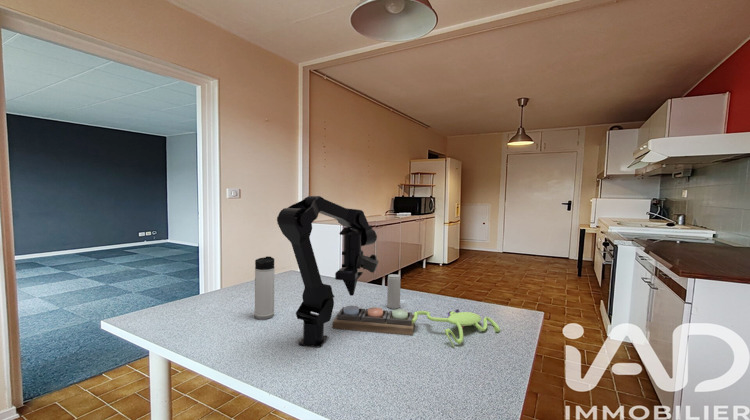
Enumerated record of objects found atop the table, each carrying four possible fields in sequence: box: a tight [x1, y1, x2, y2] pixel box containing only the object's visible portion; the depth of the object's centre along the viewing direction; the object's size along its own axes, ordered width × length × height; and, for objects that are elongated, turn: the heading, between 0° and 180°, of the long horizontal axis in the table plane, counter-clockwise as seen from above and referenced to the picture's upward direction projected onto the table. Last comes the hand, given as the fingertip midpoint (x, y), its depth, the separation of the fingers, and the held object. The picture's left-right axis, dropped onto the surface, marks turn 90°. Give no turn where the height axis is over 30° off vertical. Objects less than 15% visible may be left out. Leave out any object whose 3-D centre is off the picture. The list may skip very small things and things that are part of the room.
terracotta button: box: [367, 307, 383, 318], centre depth 106 cm, size 5×5×2 cm
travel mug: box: [254, 256, 275, 321], centre depth 111 cm, size 6×7×20 cm
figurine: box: [411, 309, 501, 348], centre depth 103 cm, size 18×27×6 cm
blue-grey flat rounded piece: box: [343, 305, 359, 316], centre depth 107 cm, size 5×5×2 cm
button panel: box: [332, 306, 415, 336], centre depth 106 cm, size 12×25×4 cm, turn 80°
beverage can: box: [386, 273, 401, 310], centre depth 123 cm, size 5×5×12 cm
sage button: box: [391, 308, 409, 320], centre depth 104 cm, size 5×5×2 cm
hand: (351, 295), depth 107 cm, fingers closed
